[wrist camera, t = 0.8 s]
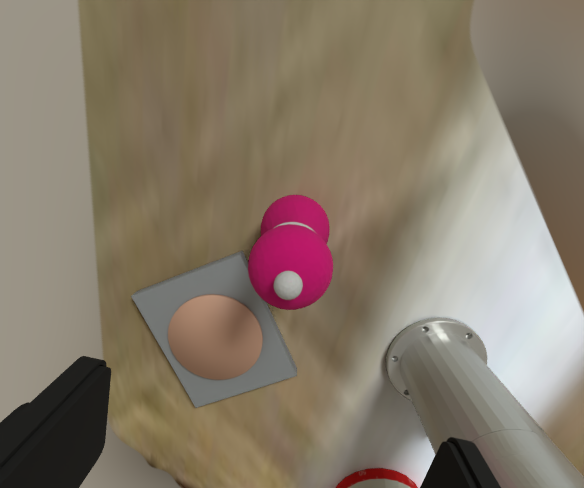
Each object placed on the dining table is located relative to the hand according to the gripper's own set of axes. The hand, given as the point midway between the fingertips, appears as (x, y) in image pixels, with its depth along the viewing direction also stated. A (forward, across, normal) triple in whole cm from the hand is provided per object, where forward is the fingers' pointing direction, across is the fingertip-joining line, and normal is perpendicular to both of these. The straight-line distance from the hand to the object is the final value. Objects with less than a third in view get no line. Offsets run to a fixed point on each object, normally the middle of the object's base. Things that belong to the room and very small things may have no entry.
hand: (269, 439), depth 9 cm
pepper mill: (+30, 0, 0) cm, 30 cm away
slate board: (+30, +6, +17) cm, 35 cm away
